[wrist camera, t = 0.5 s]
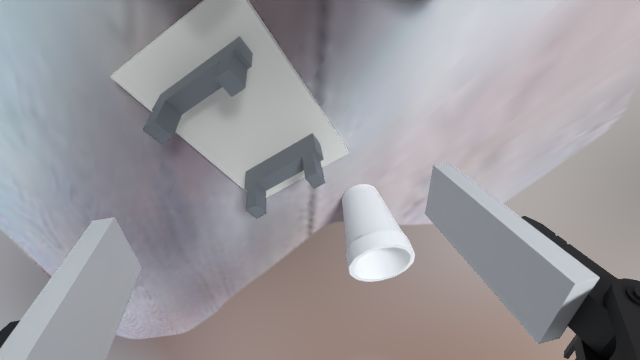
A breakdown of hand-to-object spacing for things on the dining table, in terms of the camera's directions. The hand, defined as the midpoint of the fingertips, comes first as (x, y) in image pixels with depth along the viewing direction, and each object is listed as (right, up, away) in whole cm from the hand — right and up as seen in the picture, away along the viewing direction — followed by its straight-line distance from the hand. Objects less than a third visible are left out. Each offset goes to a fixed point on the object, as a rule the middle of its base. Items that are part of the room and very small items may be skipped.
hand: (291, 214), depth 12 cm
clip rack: (-8, +10, +24) cm, 27 cm away
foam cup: (+8, -1, +38) cm, 38 cm away
